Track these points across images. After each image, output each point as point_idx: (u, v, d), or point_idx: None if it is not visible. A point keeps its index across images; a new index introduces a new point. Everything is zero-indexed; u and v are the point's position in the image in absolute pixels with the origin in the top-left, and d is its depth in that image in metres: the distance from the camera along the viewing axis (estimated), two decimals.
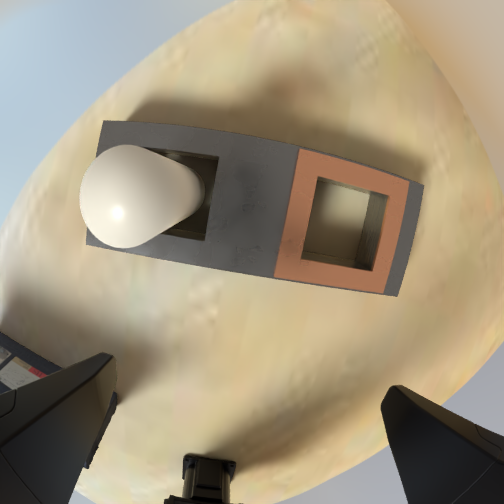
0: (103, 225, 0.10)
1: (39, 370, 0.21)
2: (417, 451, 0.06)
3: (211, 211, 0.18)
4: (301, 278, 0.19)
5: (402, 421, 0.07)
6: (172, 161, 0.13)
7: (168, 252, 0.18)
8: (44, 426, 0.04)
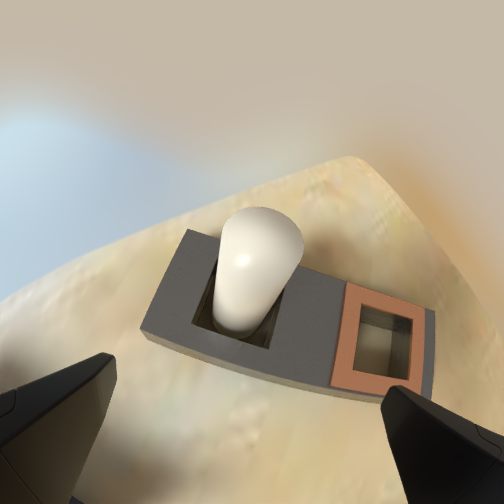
0: (242, 255, 0.13)
1: None
2: (417, 451, 0.06)
3: (277, 323, 0.20)
4: (354, 387, 0.17)
5: (402, 421, 0.07)
6: None
7: (231, 355, 0.18)
8: (44, 426, 0.04)
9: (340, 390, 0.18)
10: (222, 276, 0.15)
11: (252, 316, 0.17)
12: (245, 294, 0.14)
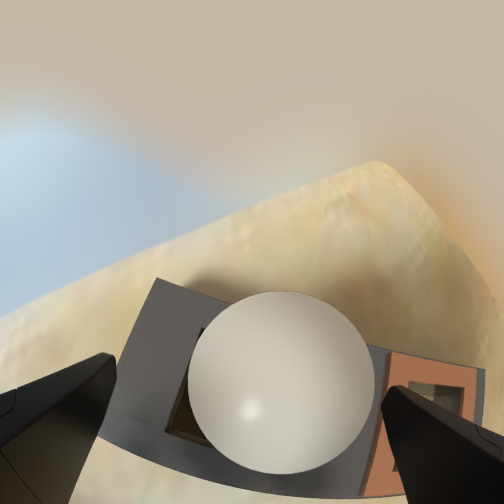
0: (240, 430, 0.04)
1: None
2: (417, 451, 0.06)
3: None
4: (391, 491, 0.09)
5: (402, 421, 0.07)
6: None
7: (226, 475, 0.10)
8: (44, 426, 0.04)
9: (374, 496, 0.09)
10: None
11: None
12: None
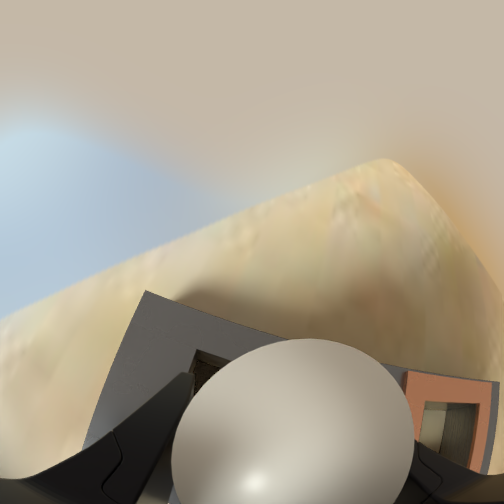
0: None
1: None
2: None
3: None
4: None
5: None
6: None
7: None
8: None
9: None
10: None
11: None
12: None
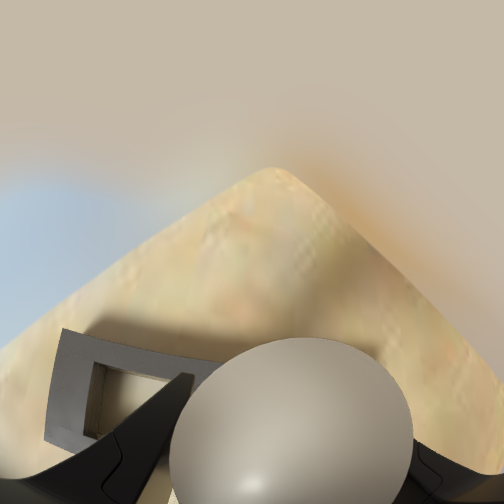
0: None
1: None
2: None
3: None
4: None
5: None
6: None
7: None
8: None
9: None
10: None
11: None
12: None
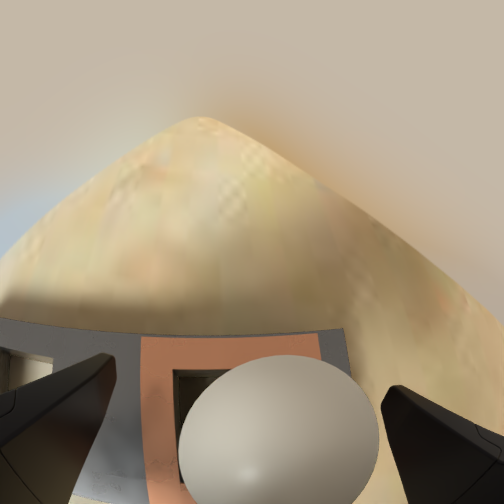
0: (235, 500, 0.03)
1: None
2: (417, 451, 0.06)
3: None
4: None
5: (402, 421, 0.07)
6: None
7: None
8: (44, 426, 0.04)
9: None
10: None
11: None
12: None
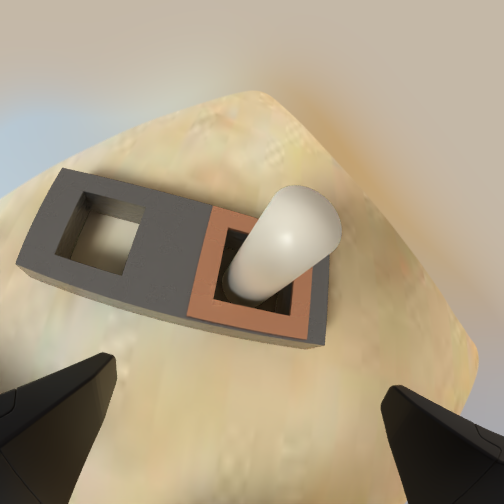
0: (286, 228, 0.13)
1: None
2: (417, 451, 0.06)
3: (132, 249, 0.18)
4: (215, 319, 0.18)
5: (402, 421, 0.07)
6: None
7: (86, 282, 0.16)
8: (44, 426, 0.04)
9: (200, 321, 0.18)
10: (256, 243, 0.15)
11: (268, 288, 0.17)
12: (274, 266, 0.15)
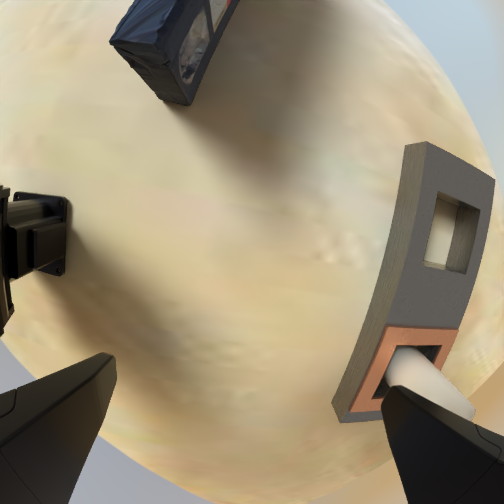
0: None
1: None
2: (417, 451, 0.06)
3: (439, 270, 0.18)
4: (381, 349, 0.19)
5: (402, 421, 0.07)
6: None
7: (417, 231, 0.17)
8: (44, 426, 0.04)
9: (380, 336, 0.19)
10: (443, 392, 0.14)
11: None
12: None
